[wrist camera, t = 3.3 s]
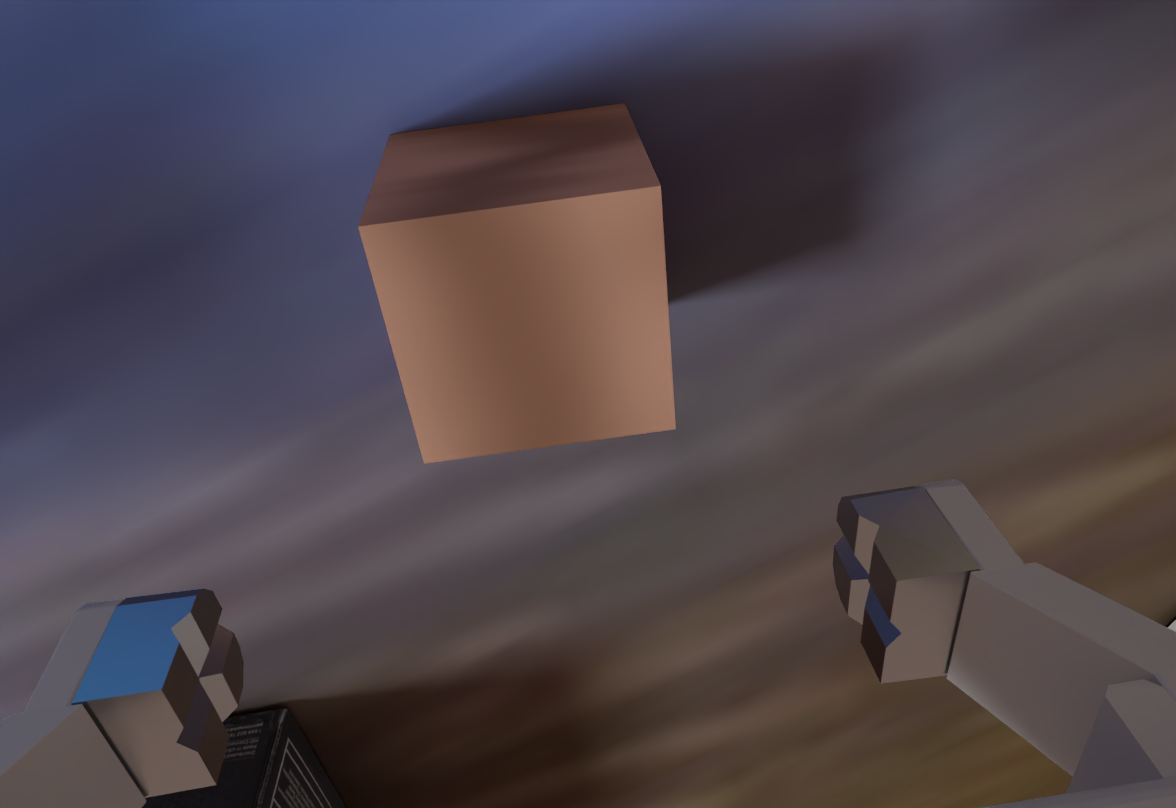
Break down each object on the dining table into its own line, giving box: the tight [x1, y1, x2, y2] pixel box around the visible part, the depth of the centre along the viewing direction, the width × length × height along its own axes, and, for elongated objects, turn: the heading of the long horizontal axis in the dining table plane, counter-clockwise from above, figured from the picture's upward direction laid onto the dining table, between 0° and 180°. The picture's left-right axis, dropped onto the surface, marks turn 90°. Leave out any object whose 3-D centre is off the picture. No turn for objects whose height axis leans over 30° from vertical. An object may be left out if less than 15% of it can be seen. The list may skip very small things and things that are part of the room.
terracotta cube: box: [358, 103, 676, 464], centre depth 19 cm, size 6×6×6 cm
